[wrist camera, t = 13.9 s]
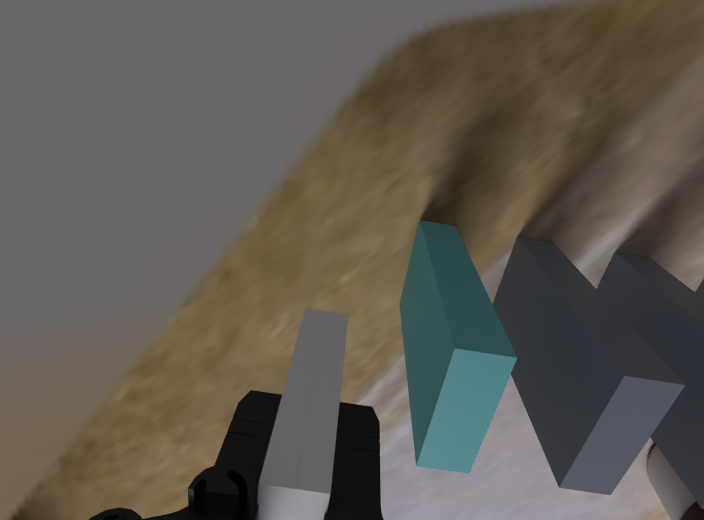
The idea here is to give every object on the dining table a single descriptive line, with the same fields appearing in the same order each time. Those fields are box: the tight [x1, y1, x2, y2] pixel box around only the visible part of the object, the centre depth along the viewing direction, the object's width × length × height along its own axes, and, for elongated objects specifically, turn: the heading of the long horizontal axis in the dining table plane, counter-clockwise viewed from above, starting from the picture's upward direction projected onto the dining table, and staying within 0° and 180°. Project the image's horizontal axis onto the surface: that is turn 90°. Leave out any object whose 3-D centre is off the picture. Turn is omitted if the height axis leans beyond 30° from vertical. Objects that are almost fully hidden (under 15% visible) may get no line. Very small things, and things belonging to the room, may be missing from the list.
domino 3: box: [597, 252, 704, 509], centre depth 18 cm, size 2×5×10 cm, turn 171°
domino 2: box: [493, 237, 685, 495], centre depth 18 cm, size 2×5×10 cm, turn 171°
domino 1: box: [400, 220, 517, 473], centre depth 17 cm, size 2×5×10 cm, turn 172°
